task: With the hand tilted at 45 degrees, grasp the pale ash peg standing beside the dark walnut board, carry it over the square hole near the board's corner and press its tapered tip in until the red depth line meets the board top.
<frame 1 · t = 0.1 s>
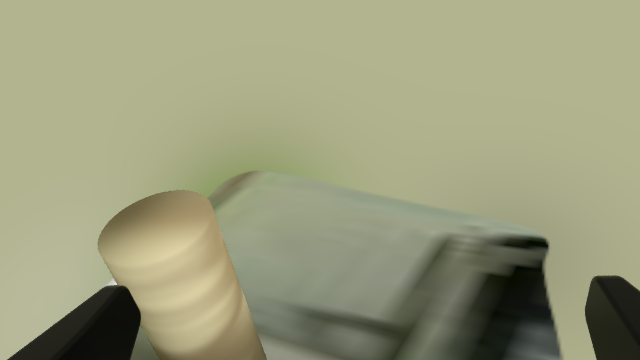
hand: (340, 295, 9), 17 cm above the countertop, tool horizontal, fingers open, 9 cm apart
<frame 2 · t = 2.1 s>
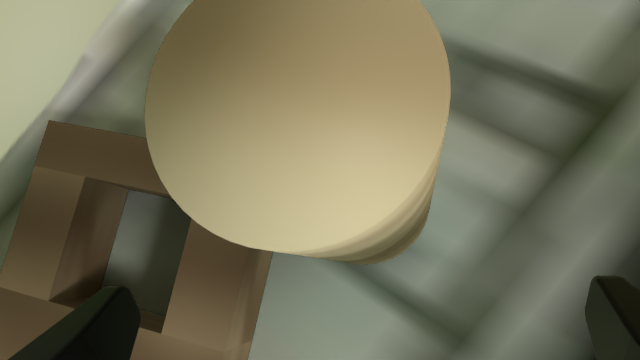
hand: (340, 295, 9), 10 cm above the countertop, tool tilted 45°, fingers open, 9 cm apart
ash peg: (376, 217, 19), on the countertop
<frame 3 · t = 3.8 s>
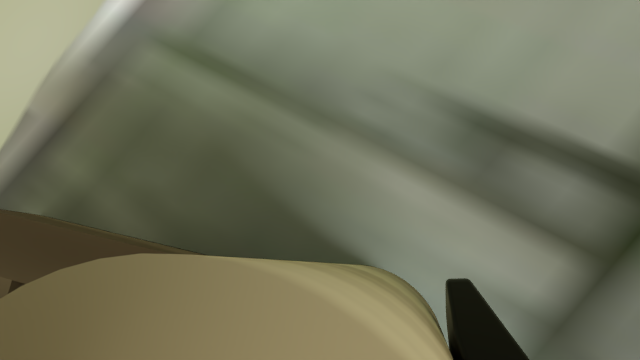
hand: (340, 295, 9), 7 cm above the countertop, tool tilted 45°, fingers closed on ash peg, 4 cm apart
ash peg: (374, 326, 16), on the countertop, touching gripper
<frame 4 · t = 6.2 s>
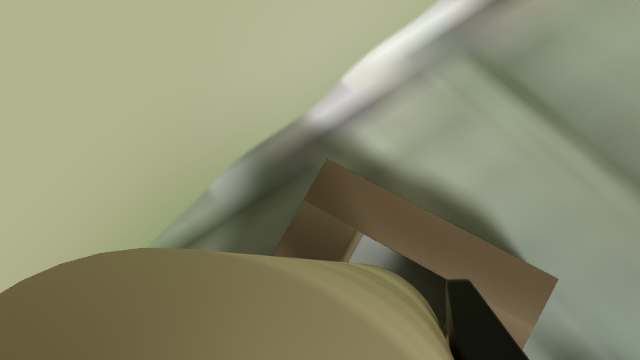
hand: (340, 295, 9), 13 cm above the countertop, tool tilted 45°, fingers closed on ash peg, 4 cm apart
ash peg: (374, 325, 16), point 6 cm above the countertop, touching gripper
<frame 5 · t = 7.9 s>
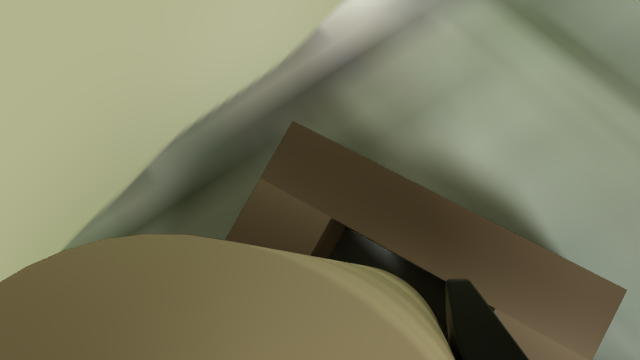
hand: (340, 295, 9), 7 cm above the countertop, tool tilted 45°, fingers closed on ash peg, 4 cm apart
ash peg: (374, 329, 16), resting in walnut board, touching gripper
when the fingers open (7 cm above the countertop, at t = 8.7 s): ash peg stays where it is, resting in walnut board.
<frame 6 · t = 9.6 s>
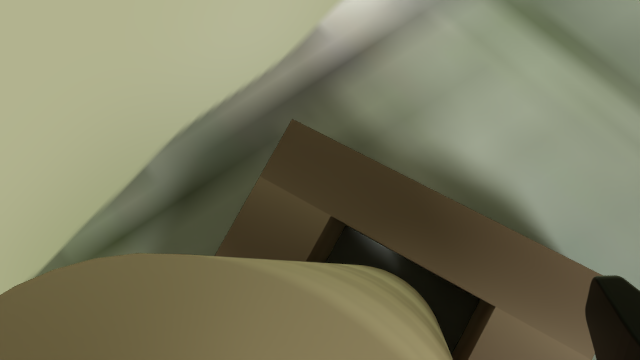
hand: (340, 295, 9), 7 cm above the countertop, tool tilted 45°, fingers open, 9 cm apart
ash peg: (374, 327, 16), resting in walnut board
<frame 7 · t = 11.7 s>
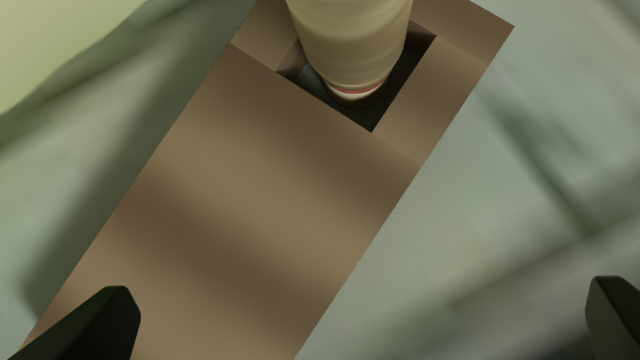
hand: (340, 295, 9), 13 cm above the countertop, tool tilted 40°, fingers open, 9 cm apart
walnut board: (271, 202, 23), on the countertop
ash peg: (356, 76, 23), resting in walnut board
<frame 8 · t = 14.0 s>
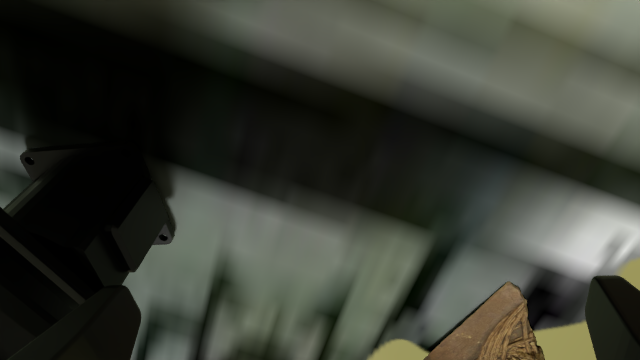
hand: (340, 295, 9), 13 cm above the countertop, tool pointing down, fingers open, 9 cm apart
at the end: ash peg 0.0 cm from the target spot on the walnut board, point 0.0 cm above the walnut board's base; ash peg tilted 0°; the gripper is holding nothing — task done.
